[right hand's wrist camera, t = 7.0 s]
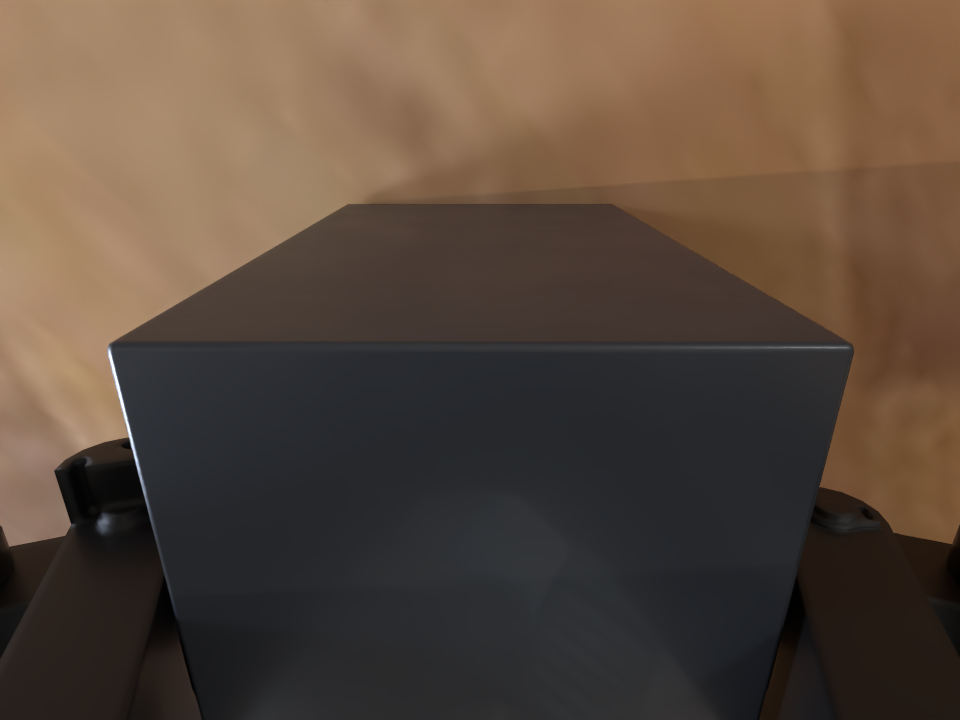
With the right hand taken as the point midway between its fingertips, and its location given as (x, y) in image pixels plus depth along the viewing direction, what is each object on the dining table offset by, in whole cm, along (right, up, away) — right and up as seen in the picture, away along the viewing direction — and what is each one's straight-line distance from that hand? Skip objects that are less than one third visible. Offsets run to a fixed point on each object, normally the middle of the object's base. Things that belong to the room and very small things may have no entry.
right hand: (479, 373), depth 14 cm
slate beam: (0, -13, +5) cm, 14 cm away
